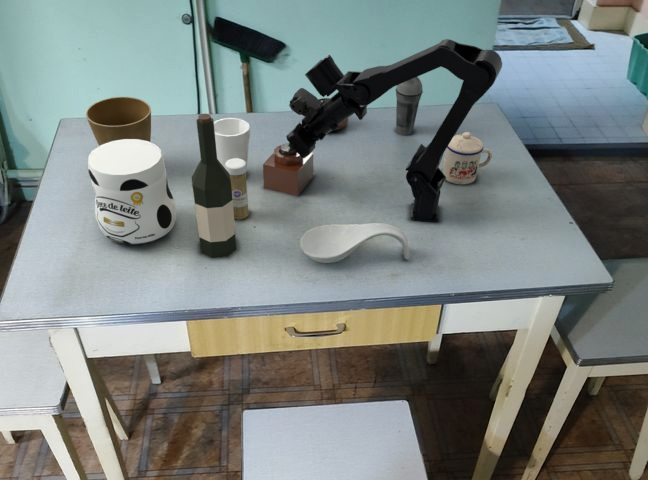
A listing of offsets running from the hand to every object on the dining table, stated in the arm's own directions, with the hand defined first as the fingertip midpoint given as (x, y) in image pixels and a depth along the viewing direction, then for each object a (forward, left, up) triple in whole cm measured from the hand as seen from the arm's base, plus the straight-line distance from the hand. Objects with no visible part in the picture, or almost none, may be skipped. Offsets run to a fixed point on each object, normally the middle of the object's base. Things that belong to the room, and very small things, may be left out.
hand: (289, 146), depth 160 cm
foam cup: (+1, +15, -10) cm, 18 cm away
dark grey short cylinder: (0, 0, -2) cm, 2 cm away
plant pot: (-1, +41, -10) cm, 42 cm away
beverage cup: (+32, -27, -10) cm, 43 cm away
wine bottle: (-29, +12, -10) cm, 33 cm away
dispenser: (0, 0, -10) cm, 10 cm away
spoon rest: (-27, -18, -10) cm, 34 cm away
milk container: (-25, +31, -10) cm, 41 cm away
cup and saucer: (+32, -5, -10) cm, 34 cm away
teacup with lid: (+10, -43, -10) cm, 46 cm away
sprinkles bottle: (-16, +10, -10) cm, 21 cm away
